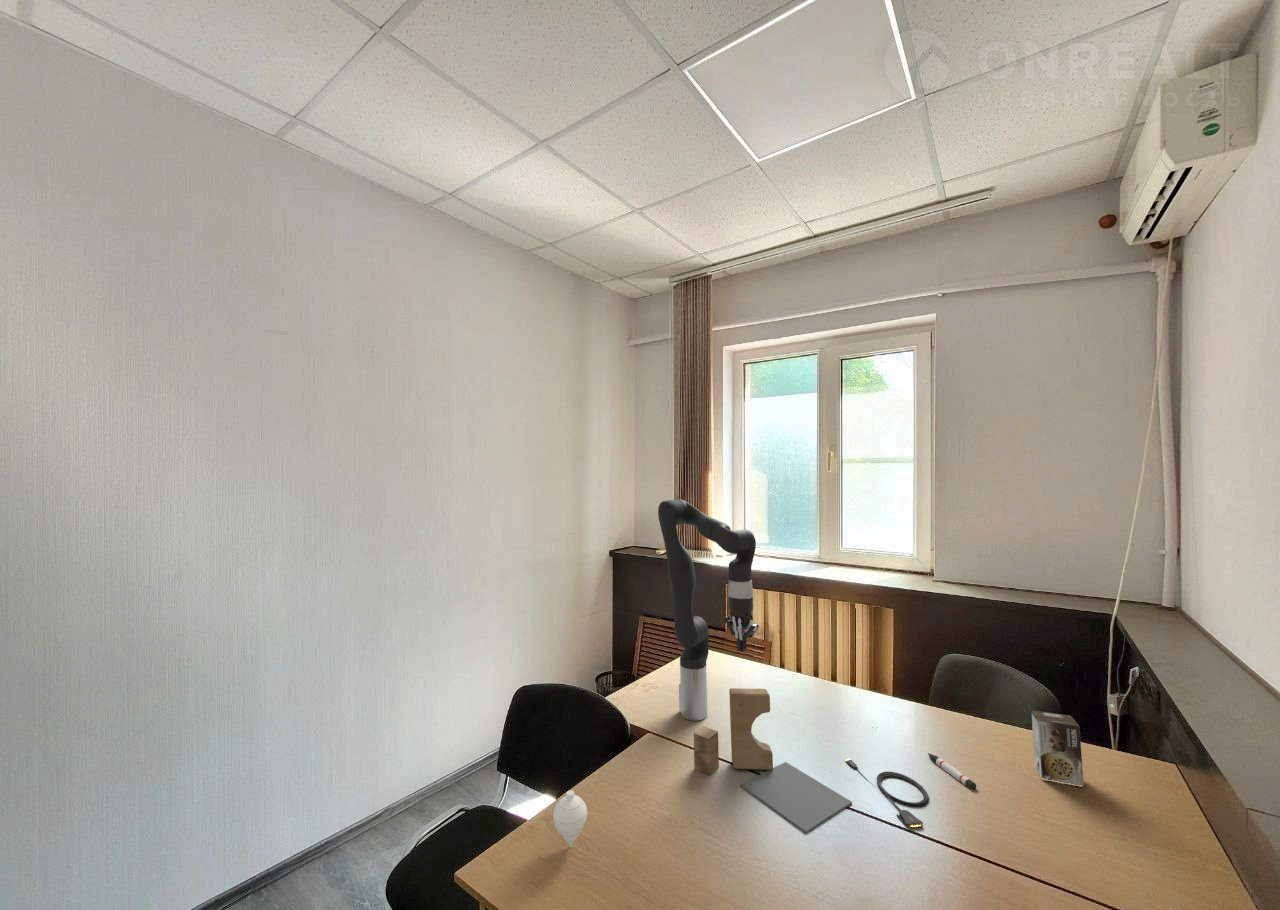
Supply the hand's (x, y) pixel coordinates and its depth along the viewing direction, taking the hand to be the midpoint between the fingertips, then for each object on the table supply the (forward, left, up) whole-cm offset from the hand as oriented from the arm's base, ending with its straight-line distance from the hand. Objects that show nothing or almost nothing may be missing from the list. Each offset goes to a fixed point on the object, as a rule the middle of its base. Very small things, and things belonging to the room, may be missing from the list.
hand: (741, 650), depth 151 cm
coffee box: (+60, +58, -29) cm, 88 cm away
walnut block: (+2, -17, -29) cm, 34 cm away
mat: (+24, -6, -29) cm, 38 cm away
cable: (+37, +18, -30) cm, 51 cm away
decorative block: (+9, -6, -29) cm, 31 cm away
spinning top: (+7, -62, -29) cm, 68 cm away
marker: (+42, +38, -30) cm, 63 cm away
